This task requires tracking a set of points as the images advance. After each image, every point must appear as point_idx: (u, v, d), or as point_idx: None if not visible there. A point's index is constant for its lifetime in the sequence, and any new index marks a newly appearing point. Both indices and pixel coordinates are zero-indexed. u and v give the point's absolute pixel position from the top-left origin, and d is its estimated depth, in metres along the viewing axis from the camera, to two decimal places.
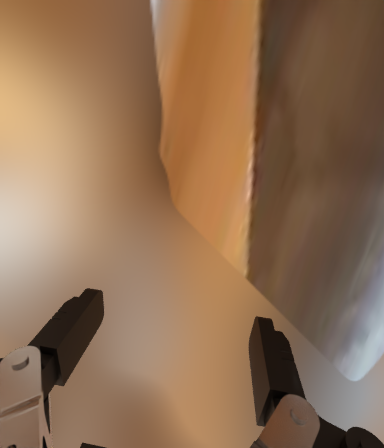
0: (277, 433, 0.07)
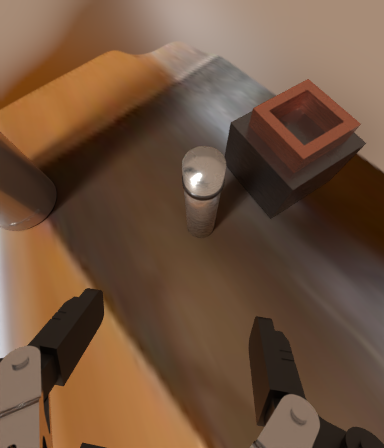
0: (277, 433, 0.07)
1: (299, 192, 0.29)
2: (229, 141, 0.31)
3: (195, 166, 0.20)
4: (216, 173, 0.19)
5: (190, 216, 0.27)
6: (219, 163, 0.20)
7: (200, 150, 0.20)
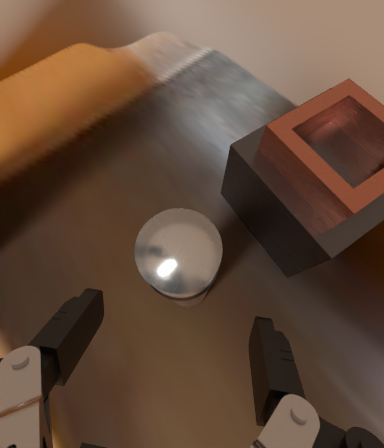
0: (277, 433, 0.07)
1: None
2: (228, 169, 0.22)
3: (161, 252, 0.10)
4: (202, 269, 0.10)
5: None
6: (209, 246, 0.10)
7: (172, 218, 0.10)
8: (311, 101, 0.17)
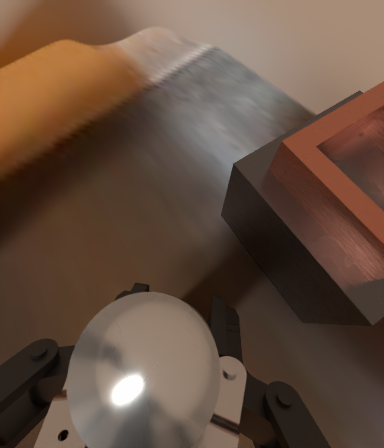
0: None
1: None
2: (230, 191, 0.17)
3: (113, 379, 0.06)
4: (185, 417, 0.05)
5: None
6: (197, 368, 0.06)
7: (137, 311, 0.06)
8: (340, 109, 0.13)
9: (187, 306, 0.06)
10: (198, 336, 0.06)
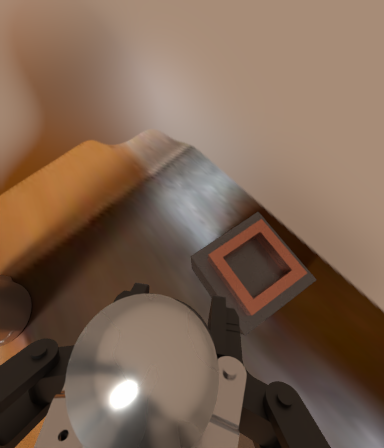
0: None
1: None
2: (192, 263, 0.33)
3: (111, 381, 0.06)
4: (183, 419, 0.05)
5: None
6: (195, 370, 0.06)
7: (136, 313, 0.06)
8: (236, 236, 0.29)
9: (186, 308, 0.06)
10: (197, 338, 0.06)
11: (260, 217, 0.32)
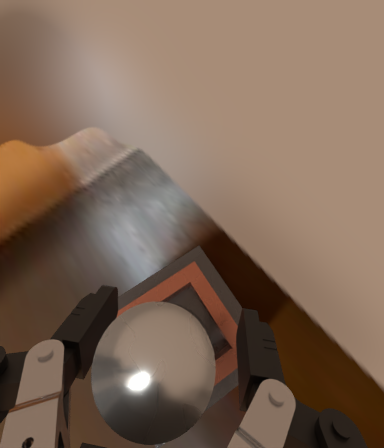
0: (257, 417, 0.07)
1: None
2: None
3: (128, 373, 0.07)
4: (187, 403, 0.07)
5: None
6: (196, 364, 0.07)
7: (147, 317, 0.07)
8: (153, 289, 0.19)
9: (188, 313, 0.08)
10: (197, 338, 0.07)
11: (201, 254, 0.23)
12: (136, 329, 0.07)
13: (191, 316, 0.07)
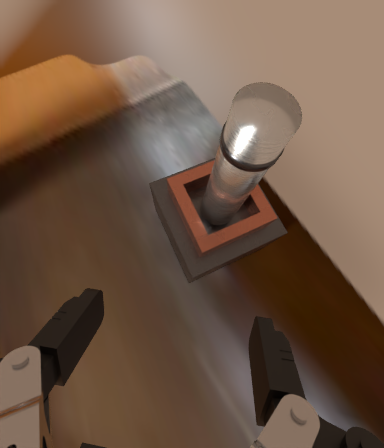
0: (277, 433, 0.07)
1: (212, 270, 0.27)
2: (153, 197, 0.29)
3: (253, 110, 0.12)
4: (285, 128, 0.12)
5: (214, 194, 0.19)
6: (291, 113, 0.12)
7: (263, 89, 0.13)
8: (204, 165, 0.24)
9: (287, 92, 0.13)
10: (292, 103, 0.12)
11: None
12: (256, 93, 0.12)
13: (288, 93, 0.13)
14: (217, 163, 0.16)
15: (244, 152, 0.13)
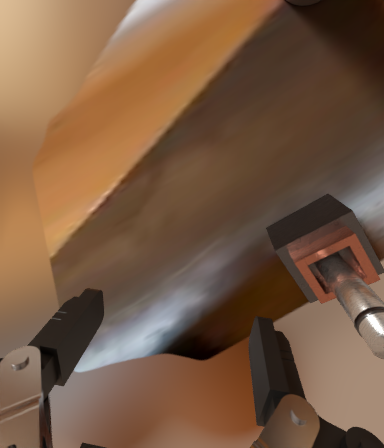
0: (277, 433, 0.07)
1: None
2: (339, 205, 0.34)
3: None
4: (380, 352, 0.22)
5: (339, 280, 0.28)
6: None
7: None
8: (367, 258, 0.31)
9: None
10: None
11: (378, 272, 0.34)
12: None
13: None
14: (362, 296, 0.25)
15: (366, 327, 0.23)
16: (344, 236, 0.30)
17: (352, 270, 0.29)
